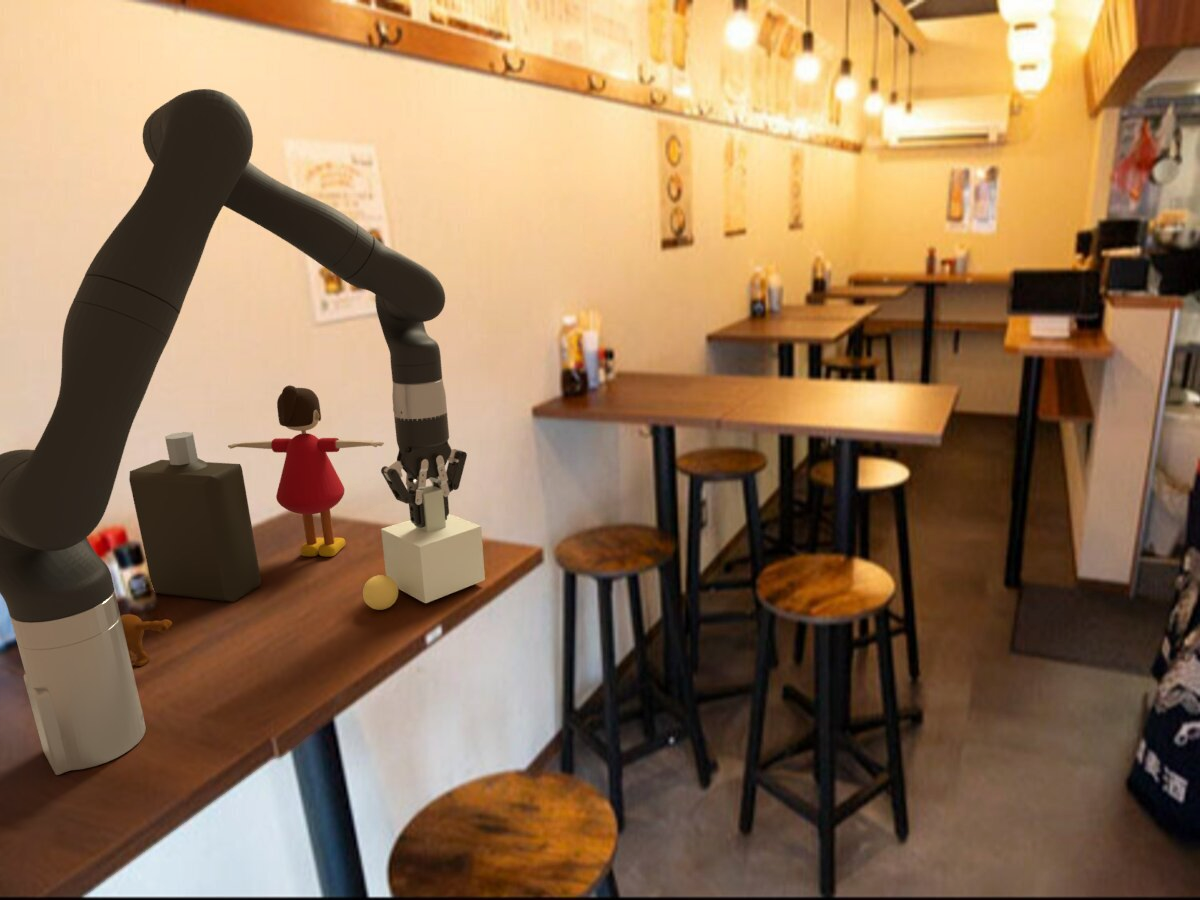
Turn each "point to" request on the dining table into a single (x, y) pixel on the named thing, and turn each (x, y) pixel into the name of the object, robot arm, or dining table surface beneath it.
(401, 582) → the cover
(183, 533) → the bottle
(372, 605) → the ball
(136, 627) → the toy figurine
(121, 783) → the dining table surface
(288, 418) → the toy
